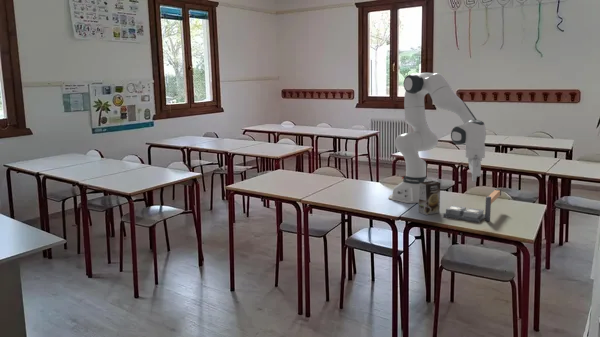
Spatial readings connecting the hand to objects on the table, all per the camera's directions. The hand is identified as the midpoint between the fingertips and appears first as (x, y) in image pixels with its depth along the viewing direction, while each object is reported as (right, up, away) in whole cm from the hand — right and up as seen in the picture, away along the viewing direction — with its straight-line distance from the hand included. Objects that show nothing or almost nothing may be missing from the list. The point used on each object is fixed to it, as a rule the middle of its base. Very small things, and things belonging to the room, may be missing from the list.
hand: (474, 181), depth 248 cm
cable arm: (+12, -17, +9) cm, 23 cm away
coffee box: (-18, -17, +17) cm, 30 cm away
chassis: (-2, -18, +7) cm, 20 cm away
